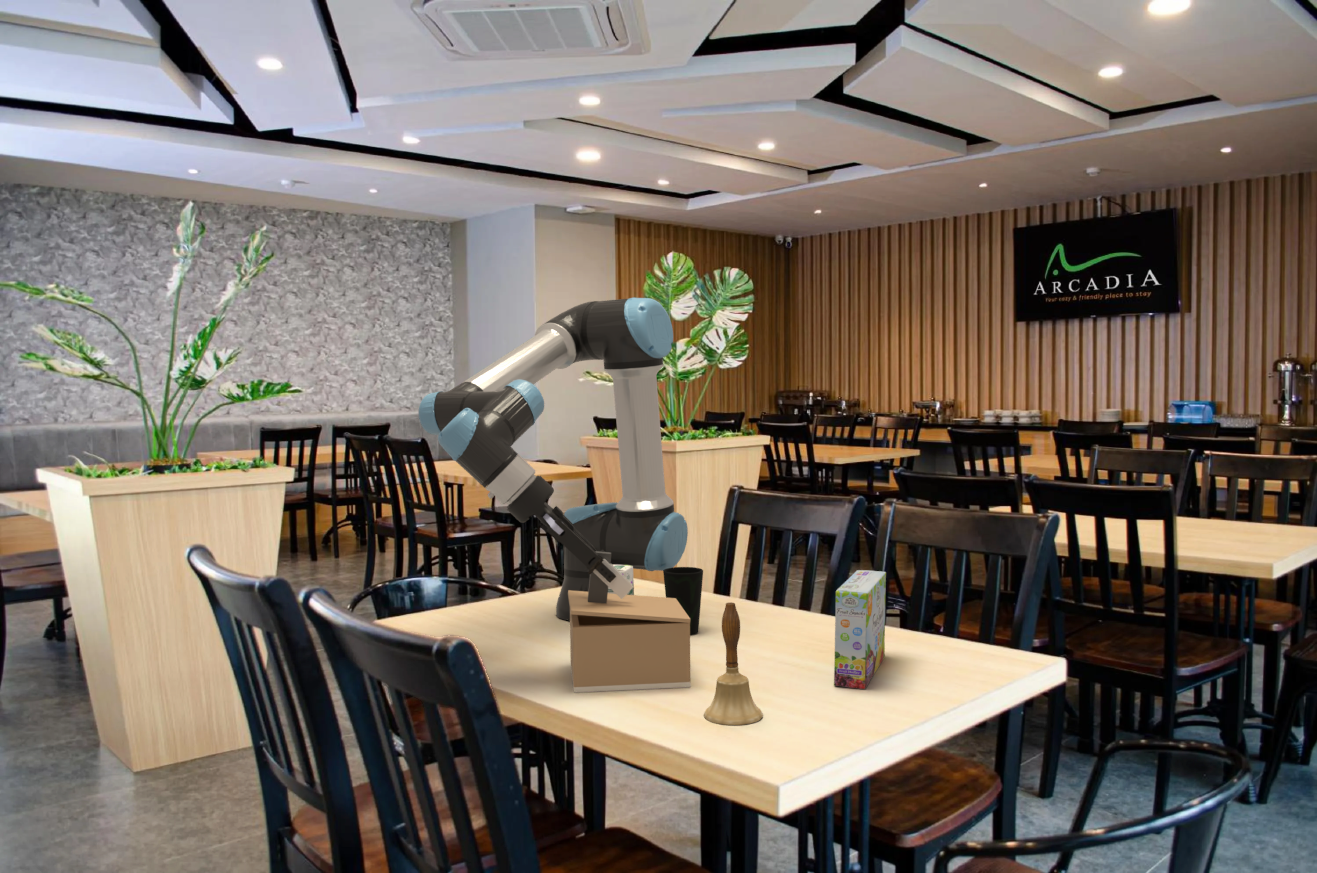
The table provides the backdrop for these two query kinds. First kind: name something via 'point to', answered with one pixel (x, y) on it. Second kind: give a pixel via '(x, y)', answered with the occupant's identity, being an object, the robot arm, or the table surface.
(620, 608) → the carton flap
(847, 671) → the snack box
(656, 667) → the carton
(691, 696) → the table surface
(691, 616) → the cup
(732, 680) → the hand bell
